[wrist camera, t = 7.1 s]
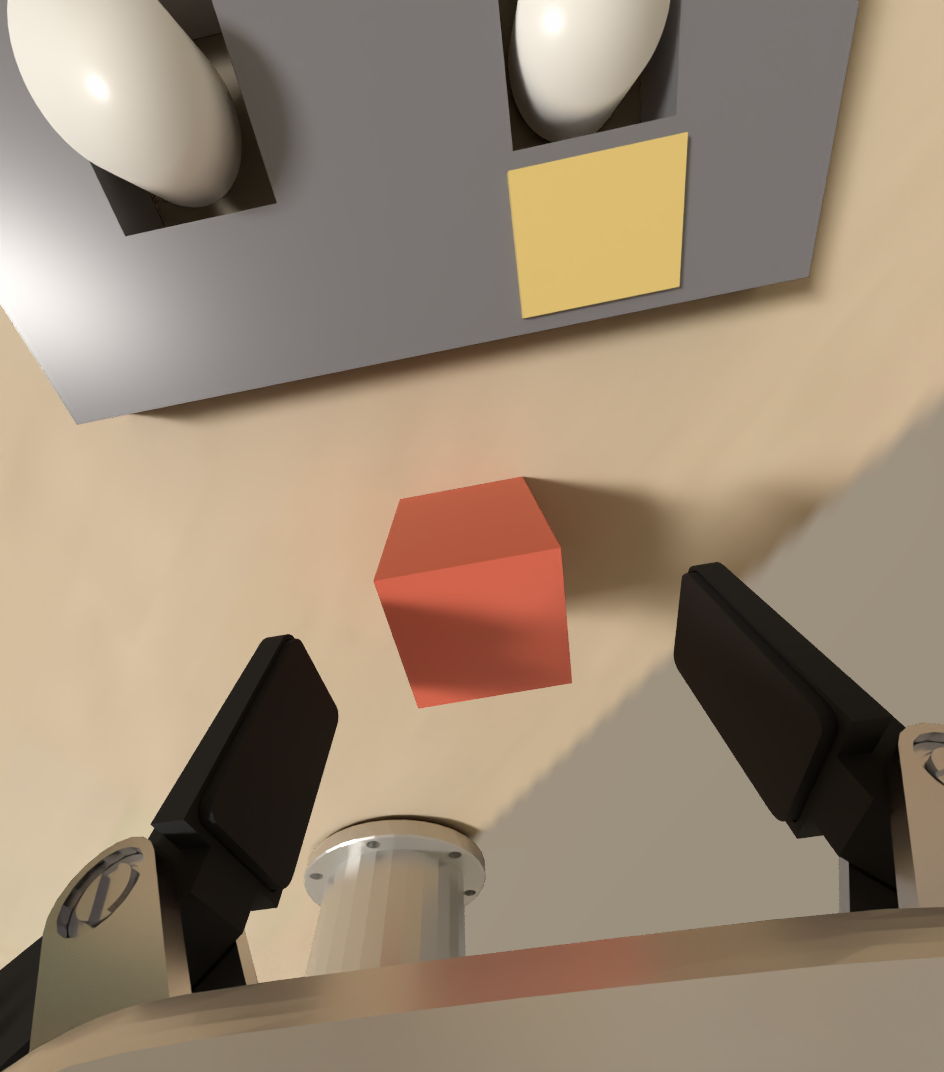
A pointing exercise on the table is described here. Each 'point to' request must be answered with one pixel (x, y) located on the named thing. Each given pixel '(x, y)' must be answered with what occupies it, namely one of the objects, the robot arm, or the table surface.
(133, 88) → the white egg
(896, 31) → the table surface
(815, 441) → the table surface
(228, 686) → the table surface
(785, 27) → the panel
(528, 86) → the cream egg in tray
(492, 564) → the cap
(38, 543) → the table surface
